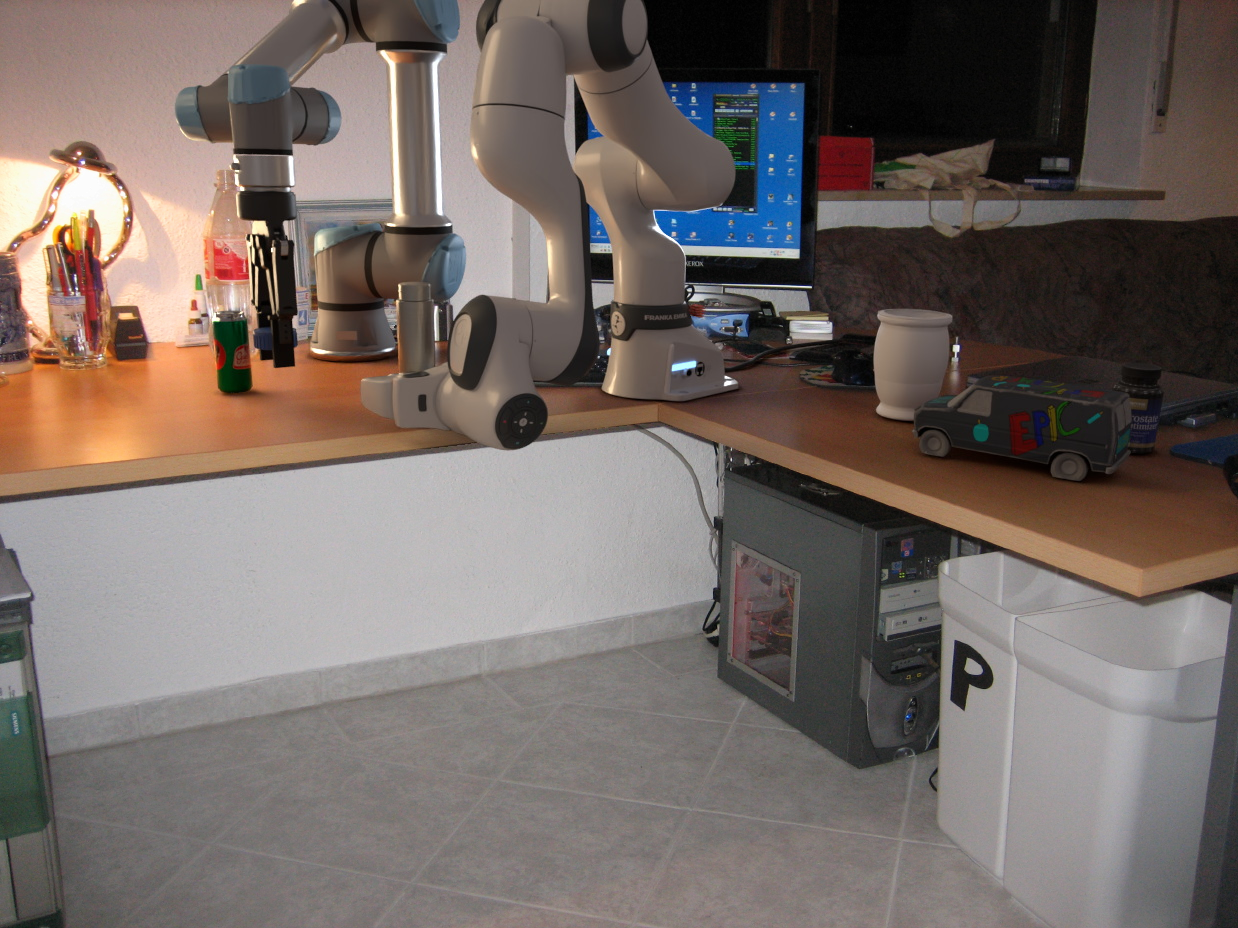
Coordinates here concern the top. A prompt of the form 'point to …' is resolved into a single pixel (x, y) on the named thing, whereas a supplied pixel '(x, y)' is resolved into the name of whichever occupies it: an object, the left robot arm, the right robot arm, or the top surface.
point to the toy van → (1031, 424)
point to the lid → (267, 338)
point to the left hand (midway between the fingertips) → (277, 362)
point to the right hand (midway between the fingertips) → (414, 377)
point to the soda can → (232, 352)
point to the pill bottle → (1142, 403)
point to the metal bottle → (415, 327)
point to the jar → (909, 359)
